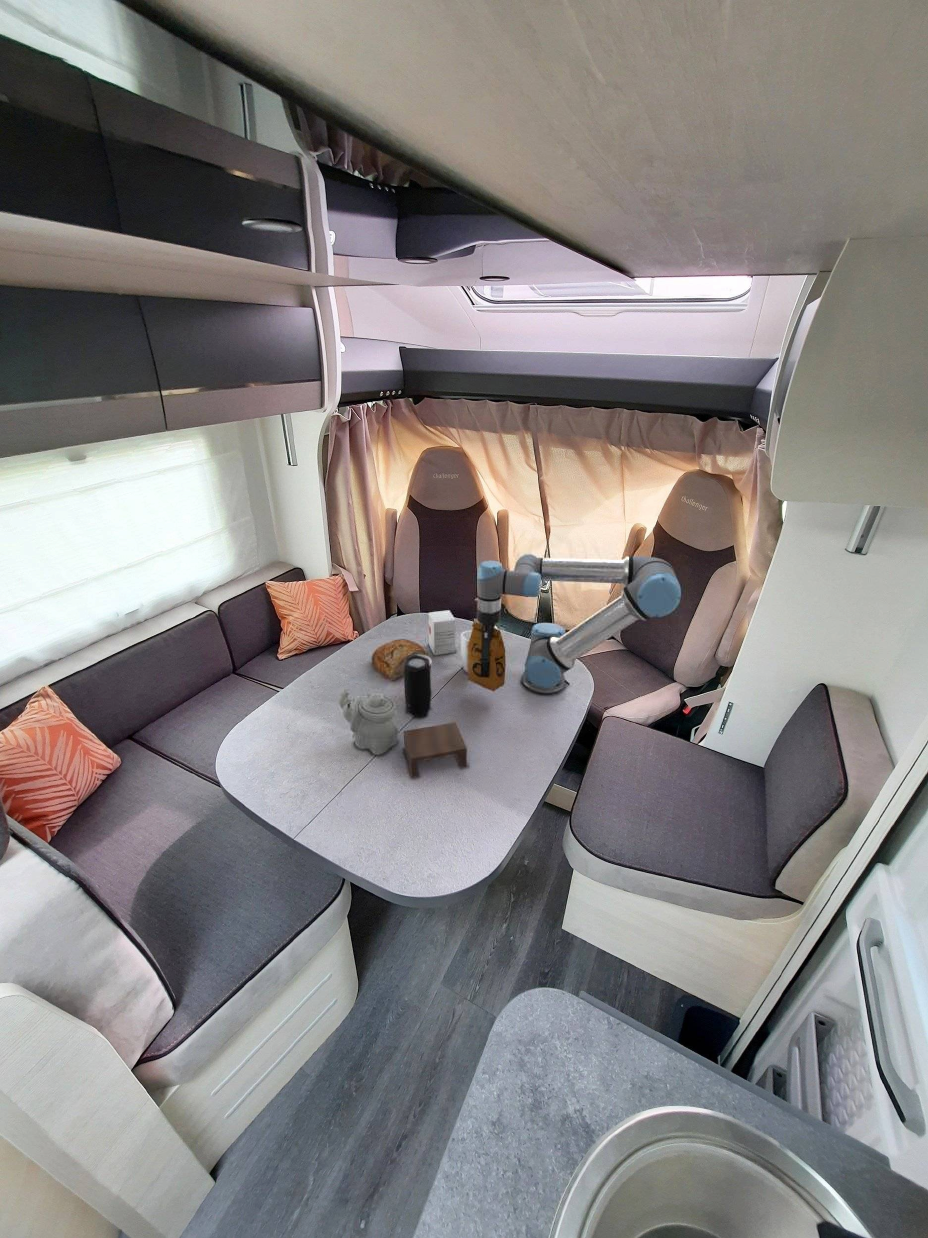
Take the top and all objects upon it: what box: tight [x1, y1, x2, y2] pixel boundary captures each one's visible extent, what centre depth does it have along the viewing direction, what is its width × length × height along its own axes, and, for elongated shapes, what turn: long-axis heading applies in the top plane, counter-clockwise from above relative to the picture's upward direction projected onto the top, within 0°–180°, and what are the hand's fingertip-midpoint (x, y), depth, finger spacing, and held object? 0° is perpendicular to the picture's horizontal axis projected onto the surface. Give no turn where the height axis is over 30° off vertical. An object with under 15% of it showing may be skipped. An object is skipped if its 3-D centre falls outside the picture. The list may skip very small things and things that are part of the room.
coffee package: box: [467, 620, 507, 692], centre depth 170 cm, size 10×12×22 cm
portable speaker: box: [403, 655, 432, 719], centre depth 166 cm, size 9×9×20 cm
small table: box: [402, 721, 468, 778], centre depth 149 cm, size 16×12×7 cm
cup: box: [460, 629, 473, 674], centre depth 189 cm, size 7×7×15 cm
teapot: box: [338, 688, 399, 756], centre depth 152 cm, size 16×15×19 cm
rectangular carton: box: [427, 609, 457, 656], centre depth 203 cm, size 9×9×15 cm
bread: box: [371, 638, 429, 681], centre depth 193 cm, size 20×18×10 cm
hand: (487, 666), depth 172 cm, fingers closed on coffee package, 11 cm apart
